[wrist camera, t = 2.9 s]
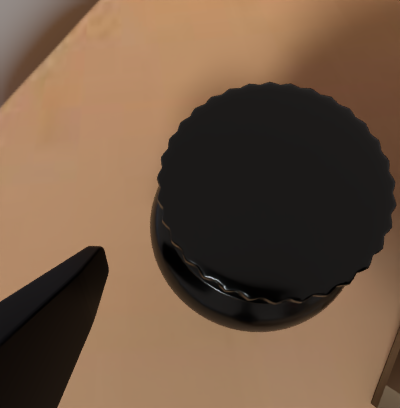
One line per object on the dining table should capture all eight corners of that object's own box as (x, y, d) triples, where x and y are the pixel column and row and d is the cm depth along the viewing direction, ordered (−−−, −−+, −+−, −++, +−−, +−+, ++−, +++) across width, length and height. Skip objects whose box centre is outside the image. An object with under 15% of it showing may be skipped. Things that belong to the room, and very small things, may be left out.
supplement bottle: (303, 302, 16) (522, 361, 4) (186, 314, 16) (102, 399, 5) (282, 189, 18) (397, 23, 6) (177, 202, 18) (101, 64, 7)
